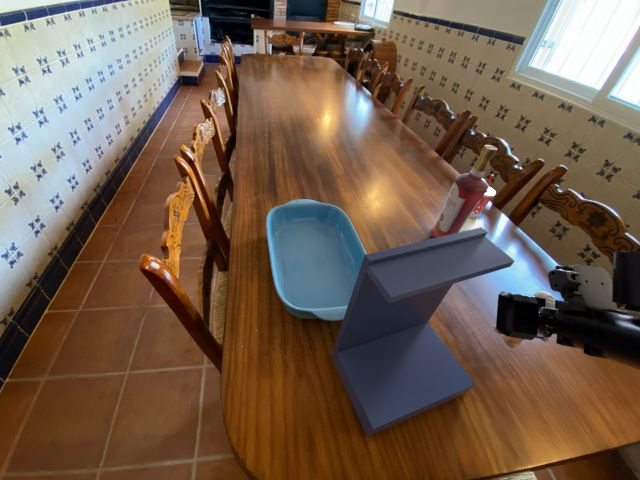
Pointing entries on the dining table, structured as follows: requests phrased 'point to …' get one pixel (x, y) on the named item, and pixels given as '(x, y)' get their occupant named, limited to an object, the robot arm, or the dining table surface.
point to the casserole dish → (313, 258)
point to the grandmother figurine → (550, 303)
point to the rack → (407, 327)
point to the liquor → (464, 196)
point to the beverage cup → (483, 200)
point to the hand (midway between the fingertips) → (525, 311)
